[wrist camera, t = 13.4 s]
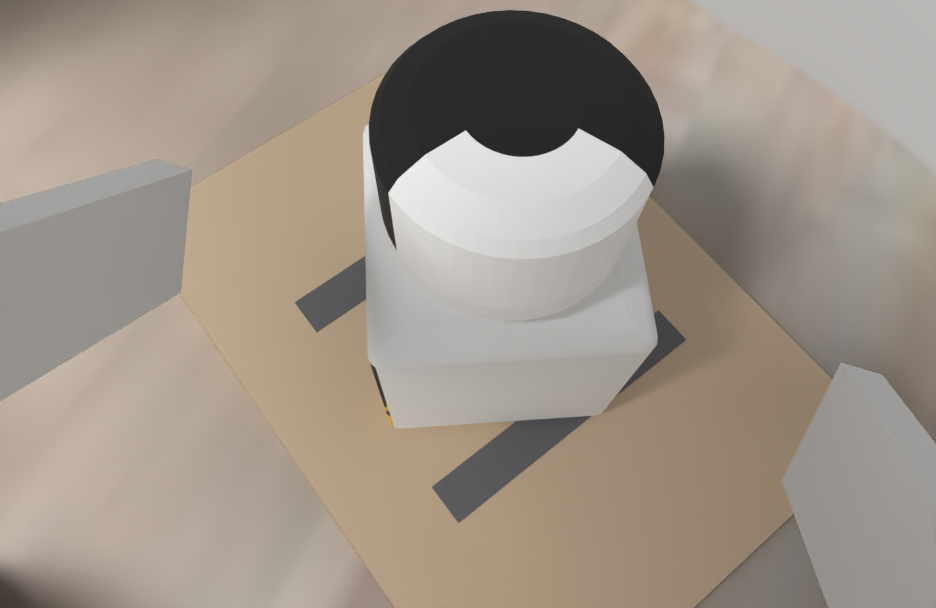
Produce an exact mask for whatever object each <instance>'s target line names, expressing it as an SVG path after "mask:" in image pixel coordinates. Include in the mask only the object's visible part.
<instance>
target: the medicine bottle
mask: <svg viewBox="0 0 936 608" xmlns="http://www.w3.org/2000/svg"><path fill="white" fill-rule="evenodd" d="M663 155H664V130H663V122H662V117H661V114H660V111H659V107H658V104H657V101H656V99H655V97H654V95H653V93H652V91H651V89H650V87H649V85H648V84H647V82H646V81H645V79H644V78H643V76H642V75H641V73H640V72H639V71H638V70H637V69H636V68H635V66H634V65H633V64H632V63H631V62H630V61H629V60H628V59H627V58H626V57H625V56H624V55H623V54H622V53H621V52H620V51H619V50H618V49H617V48H615V47H614V46H613V45H612V44H611V43H610V42H608V41H607V40H605V39H604V38H602V37H601V36H599V35H598V34H596V33H595V32H593V31H591V30H589V29H587V28H585V27H583V26H581V25H579V24H577V23H574V22H571V21H569V20H566V19H563V18H560V17H556V16H552V15H548V14H544V13H537V12H531V11H514V10H507V11H492V12H486V13H481V14H475V15H471V16H468V17H465V18H461V19H458V20H455V21H453V22H451V23H448V24H446V25H444V26H442V27H440V28H438V29H436V30H435V31H433V32H431V33H430V34H428V35H426V36H424V37H423V38H421V39H420V40H418V41H417V42H416V43H414V44H413V45H412V46H411V47H409V48H408V49H407V50H406V51H405V52H404V53H403V54H402V55H401V56H400V57H399V58H398V59H397V60H396V61H395V62H394V63H393V65H392V66H391V67H390V69H389V70H388V71H387V73H386V74H385V76H384V77H383V79H382V81H381V83H380V85H379V87H378V89H377V91H376V94H375V97H374V100H373V103H372V106H371V112H370V119H369V124H368V125H366V126H365V129H364V133H363V171H364V216H365V261H366V306H367V351H368V359H369V362H370V365H371V368H372V371H373V374H374V377H375V380H376V383H377V386H378V389H379V392H380V395H381V398H382V401H383V404H384V407H385V410H386V413H387V416H388V419H389V422H390V424H391V425H392V426H393V427H394V428H399V429H404V428H418V427H433V426H448V425H463V424H477V423H492V422H507V421H522V420H536V419H551V418H566V417H581V416H595V415H599V414H602V412H603V411H604V410H605V409H606V407H607V406H608V405H609V404H610V402H611V401H612V400H613V399H614V397H615V396H616V395H617V394H618V393H619V391H620V390H621V389H622V388H623V386H624V385H625V384H626V383H627V381H628V380H629V379H630V378H631V376H632V375H633V374H634V373H635V371H636V370H637V369H638V368H639V366H640V365H641V364H642V363H643V362H644V360H645V359H646V358H647V357H648V355H649V354H650V353H651V352H652V350H653V349H654V348H655V347H656V345H657V339H658V334H657V329H656V323H655V318H654V312H653V307H652V302H651V296H650V291H649V285H648V280H647V275H646V269H645V264H644V258H643V253H642V248H641V242H640V237H639V232H638V226H637V220H638V218H639V216H640V214H641V212H642V210H643V208H644V206H645V204H646V202H647V200H648V198H649V196H650V194H651V192H652V190H653V188H654V185H655V183H656V180H657V178H658V175H659V173H660V169H661V165H662V160H663Z"/></svg>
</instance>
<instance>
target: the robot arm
mask: <svg viewBox="0 0 936 608" xmlns="http://www.w3.org/2000/svg"><path fill="white" fill-rule="evenodd" d="M191 176H192V170H191V169H188V168H184V167H181V166H178V165H174V164H171V163H167V162H164V161H161V160H154V161H150V162H147V163H143V164H139V165H136V166H132V167H129V168H125V169H122V170H118V171H114V172H111V173H107V174H104V175H100V176H97V177H93V178H90V179H86V180H82V181H79V182H75V183H72V184H68V185H65V186H61V187H57V188H54V189H50V190H47V191H43V192H40V193H36V194H33V195H29V196H25V197H22V198H18V199H15V200H11V201H8V202H4V203H0V401H1V400H3V399H5V398H6V397H8V396H10V395H11V394H13V393H15V392H16V391H18V390H20V389H21V388H23V387H25V386H26V385H28V384H30V383H31V382H33V381H35V380H36V379H38V378H40V377H41V376H43V375H45V374H46V373H48V372H50V371H51V370H53V369H55V368H56V367H58V366H60V365H61V364H63V363H65V362H66V361H68V360H70V359H71V358H73V357H75V356H76V355H78V354H80V353H81V352H83V351H84V350H86V349H88V348H89V347H91V346H93V345H94V344H96V343H98V342H99V341H101V340H103V339H104V338H106V337H108V336H109V335H111V334H113V333H114V332H116V331H118V330H119V329H121V328H123V327H124V326H126V325H128V324H129V323H131V322H133V321H134V320H136V319H138V318H139V317H141V316H143V315H144V314H146V313H148V312H149V311H151V310H153V309H154V308H156V307H158V306H159V305H161V304H163V303H164V302H166V301H168V300H169V299H171V298H173V297H174V296H176V295H178V294H179V293H181V286H182V275H183V264H184V253H185V242H186V231H187V220H188V209H189V198H190V187H191ZM781 481H782V484H783V486H784V489H785V492H786V495H787V497H788V500H789V503H790V505H791V508H792V511H793V514H794V516H795V519H796V522H797V524H798V527H799V530H800V533H801V535H802V538H803V541H804V543H805V546H806V549H807V552H808V554H809V557H810V560H811V562H812V565H813V568H814V571H815V573H816V576H817V579H818V581H819V584H820V587H821V590H822V592H823V595H824V598H825V600H826V603H827V606H828V608H936V443H935V442H934V441H933V439H932V438H931V437H930V435H929V434H928V433H927V432H926V430H925V429H924V428H923V426H922V425H921V424H920V423H919V421H918V420H917V419H916V417H915V416H914V415H913V414H912V412H911V411H910V410H909V408H908V407H907V406H906V404H905V403H904V402H903V401H902V399H901V398H900V397H899V395H898V394H897V393H896V392H895V390H894V389H893V388H892V386H891V385H890V384H889V383H888V381H887V380H886V379H885V377H884V376H883V375H882V374H879V373H875V372H872V371H869V370H865V369H862V368H859V367H855V366H852V365H848V364H845V363H842V362H841V363H840V365H839V367H838V369H837V371H836V373H835V375H834V377H833V379H832V381H831V383H830V385H829V387H828V389H827V391H826V393H825V395H824V397H823V399H822V401H821V403H820V405H819V407H818V409H817V411H816V413H815V415H814V417H813V419H812V421H811V423H810V424H809V426H808V428H807V430H806V432H805V434H804V436H803V438H802V440H801V442H800V444H799V446H798V448H797V450H796V452H795V454H794V456H793V458H792V460H791V462H790V464H789V466H788V468H787V470H786V472H785V474H784V476H783V478H782V480H781Z"/></svg>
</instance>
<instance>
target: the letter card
mask: <svg viewBox="0 0 936 608" xmlns="http://www.w3.org/2000/svg"><path fill="white" fill-rule="evenodd" d="M386 73H387V72H386ZM386 73H384V74H382V75H381V76H379V77H377V78H376V79H374V80H372V81H371V82H369V83H367V84H365V85H364V86H362V87H360V88H359V89H357V90H355V91H354V92H352V93H350V94H348V95H347V96H345V97H343V98H342V99H340V100H338V101H336V102H335V103H333V104H331V105H330V106H328V107H326V108H325V109H323V110H321V111H319V112H318V113H316V114H314V115H313V116H311V117H309V118H307V119H306V120H304V121H302V122H301V123H299V124H297V125H296V126H294V127H292V128H290V129H289V130H287V131H285V132H284V133H282V134H280V135H278V136H277V137H275V138H273V139H272V140H270V141H268V142H267V143H265V144H263V145H261V146H260V147H258V148H256V149H255V150H253V151H251V152H249V153H248V154H246V155H244V156H243V157H241V158H239V159H238V160H236V161H234V162H232V163H231V164H229V165H227V166H226V167H224V168H222V169H221V170H219V171H217V172H215V173H214V174H212V175H210V176H209V177H207V178H205V179H203V180H202V181H200V182H198V183H197V184H195V185H193V186H192V187H190V198H189V209H188V220H187V231H186V242H185V253H184V264H183V275H182V286H181V293H179V294H180V295H181V296H182V298H183V299H184V301H185V302H186V304H187V305H188V307H189V308H190V310H191V311H192V313H193V314H194V316H195V317H196V318H197V320H198V321H199V323H200V324H201V326H202V327H203V329H204V330H205V332H206V333H207V335H208V336H209V337H210V339H211V340H212V342H213V343H214V345H215V346H216V348H217V349H218V351H219V352H220V354H221V355H222V356H223V358H224V359H225V361H226V362H227V364H228V365H229V367H230V368H231V370H232V371H233V373H234V374H235V375H236V377H237V378H238V380H239V381H240V383H241V384H242V386H243V387H244V389H245V390H246V392H247V393H248V394H249V396H250V397H251V399H252V400H253V402H254V403H255V405H256V406H257V408H258V409H259V411H260V412H261V413H262V415H263V416H264V418H265V419H266V421H267V422H268V424H269V425H270V427H271V428H272V430H273V431H274V432H275V434H276V435H277V437H278V438H279V440H280V441H281V443H282V444H283V446H284V447H285V449H286V450H287V451H288V453H289V454H290V456H291V457H292V459H293V460H294V462H295V463H296V465H297V466H298V468H299V469H300V470H301V472H302V473H303V475H304V476H305V478H306V479H307V481H308V482H309V484H310V485H311V487H312V488H313V489H314V491H315V492H316V494H317V495H318V497H319V498H320V500H321V501H322V503H323V504H324V506H325V507H326V508H327V510H328V511H329V513H330V514H331V516H332V517H333V519H334V520H335V522H336V523H337V525H338V526H339V527H340V529H341V530H342V532H343V533H344V535H345V536H346V538H347V539H348V541H349V542H350V544H351V545H352V546H353V548H354V549H355V551H356V552H357V554H358V555H359V557H360V558H361V560H362V561H363V563H364V564H365V565H366V567H367V568H368V570H369V571H370V573H371V574H372V576H373V577H374V579H375V580H376V582H377V583H378V584H379V586H380V587H381V589H382V590H383V592H384V593H385V595H386V596H387V598H388V599H389V601H390V602H391V604H392V605H393V606H394V608H694V607H695V606H696V605H697V604H698V603H700V602H701V601H702V600H703V599H704V598H705V597H706V596H707V595H708V594H709V593H710V592H711V591H712V590H713V589H714V588H715V587H717V586H718V585H719V584H720V583H721V582H722V581H723V580H724V579H725V578H726V577H727V576H728V575H729V574H730V573H731V572H732V571H733V570H735V569H736V568H737V567H738V566H739V565H740V564H741V563H742V562H743V561H744V560H745V559H746V558H747V557H748V556H749V555H750V554H752V553H753V552H754V551H755V550H756V549H757V548H758V547H759V546H760V545H761V544H762V543H763V542H764V541H765V540H766V539H767V538H769V537H770V536H771V535H772V534H773V533H774V532H775V531H776V530H777V529H778V528H779V527H780V526H781V525H782V524H783V523H784V522H786V521H787V520H788V519H789V518H790V517H791V516H792V515H793V511H792V508H791V505H790V503H789V500H788V497H787V495H786V492H785V489H784V486H783V484H782V481H781V480H782V478H783V476H784V474H785V472H786V470H787V468H788V466H789V464H790V462H791V460H792V458H793V456H794V454H795V452H796V450H797V448H798V446H799V444H800V442H801V440H802V438H803V436H804V434H805V432H806V430H807V428H808V426H809V424H810V423H811V421H812V419H813V417H814V415H815V413H816V411H817V409H818V407H819V405H820V403H821V401H822V399H823V397H824V395H825V393H826V391H827V389H828V387H829V385H830V383H831V381H832V378H831V377H830V376H829V375H828V374H827V373H826V372H825V371H824V370H823V369H822V368H821V367H820V366H819V365H818V364H817V363H816V362H815V361H814V360H813V359H812V358H811V357H810V356H809V355H808V354H807V353H806V352H805V351H804V350H803V349H802V348H801V347H800V346H799V345H798V344H797V343H796V342H795V341H794V340H793V339H792V338H791V337H790V336H789V335H788V334H787V333H786V332H785V331H784V330H783V329H782V328H781V327H780V326H779V325H778V324H777V323H776V322H775V321H774V320H773V319H772V318H771V317H770V316H769V315H768V314H767V313H766V312H765V311H764V310H763V309H762V308H761V307H760V306H759V305H758V304H757V303H756V302H755V301H754V300H753V299H752V298H751V297H750V296H749V295H748V294H747V293H746V292H745V291H744V290H743V289H742V288H741V287H740V286H739V285H738V284H737V283H736V282H735V281H734V280H733V279H732V278H731V277H730V276H729V275H728V274H727V273H726V272H725V271H724V270H723V269H722V268H721V267H720V266H719V265H718V264H717V263H716V262H715V261H714V260H713V259H712V258H711V257H710V256H709V255H708V254H707V253H706V252H705V251H704V250H703V249H702V248H701V247H700V246H699V245H698V244H697V243H696V242H695V241H694V240H693V239H692V238H691V237H690V236H689V235H688V234H687V233H686V232H685V231H684V230H683V229H682V228H681V227H680V226H679V225H678V224H677V223H676V221H675V220H674V219H673V218H672V217H671V216H670V215H669V214H668V213H667V212H666V211H665V210H664V209H663V208H662V207H661V206H660V205H659V204H658V203H657V202H656V201H655V200H654V199H653V198H652V197H651V196H649V198H648V200H647V202H646V204H645V206H644V208H643V210H642V212H641V214H640V216H639V218H638V220H637V226H638V232H639V237H640V242H641V248H642V253H643V258H644V264H645V269H646V275H647V280H648V285H649V291H650V296H651V302H652V307H653V312H654V318H655V323H656V329H657V334H658V339H657V345H656V347H655V348H654V349H653V350H652V352H651V353H650V354H649V355H648V357H647V358H646V359H645V360H644V362H643V363H642V364H641V365H640V366H639V368H638V369H637V370H636V371H635V373H634V374H633V375H632V376H631V378H630V379H629V380H628V381H627V383H626V384H625V385H624V386H623V388H622V389H621V390H620V391H619V393H618V394H617V395H616V396H615V397H614V399H613V400H612V401H611V402H610V404H609V405H608V406H607V407H606V409H605V410H604V411H603V412H602V414H599V415H595V416H581V417H566V418H551V419H536V420H522V421H507V422H492V423H477V424H463V425H448V426H433V427H418V428H404V429H399V428H394V427H393V426H392V425H391V424H390V422H389V419H388V416H387V413H386V410H385V407H384V404H383V401H382V398H381V395H380V392H379V389H378V386H377V383H376V380H375V377H374V374H373V371H372V368H371V365H370V362H369V359H368V351H367V306H366V261H365V216H364V171H363V133H364V129H365V126H366V125H368V124H369V119H370V112H371V106H372V103H373V100H374V97H375V94H376V91H377V89H378V87H379V85H380V83H381V81H382V79H383V77H384V76H385V74H386Z"/></svg>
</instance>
